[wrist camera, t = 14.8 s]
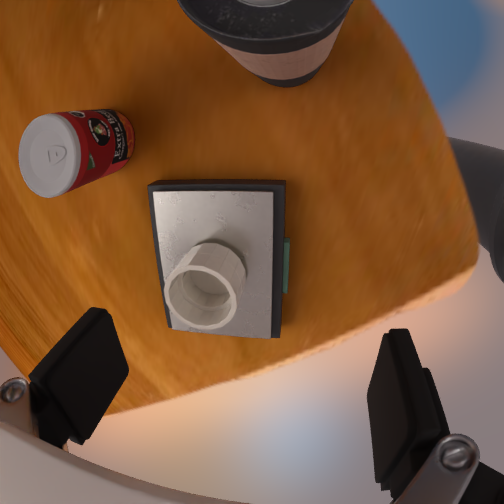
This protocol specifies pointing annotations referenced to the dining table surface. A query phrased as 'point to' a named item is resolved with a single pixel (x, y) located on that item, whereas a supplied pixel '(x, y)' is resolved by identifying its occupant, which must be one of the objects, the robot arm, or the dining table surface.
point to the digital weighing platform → (228, 235)
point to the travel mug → (272, 34)
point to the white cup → (206, 286)
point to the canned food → (73, 149)
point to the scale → (279, 242)
